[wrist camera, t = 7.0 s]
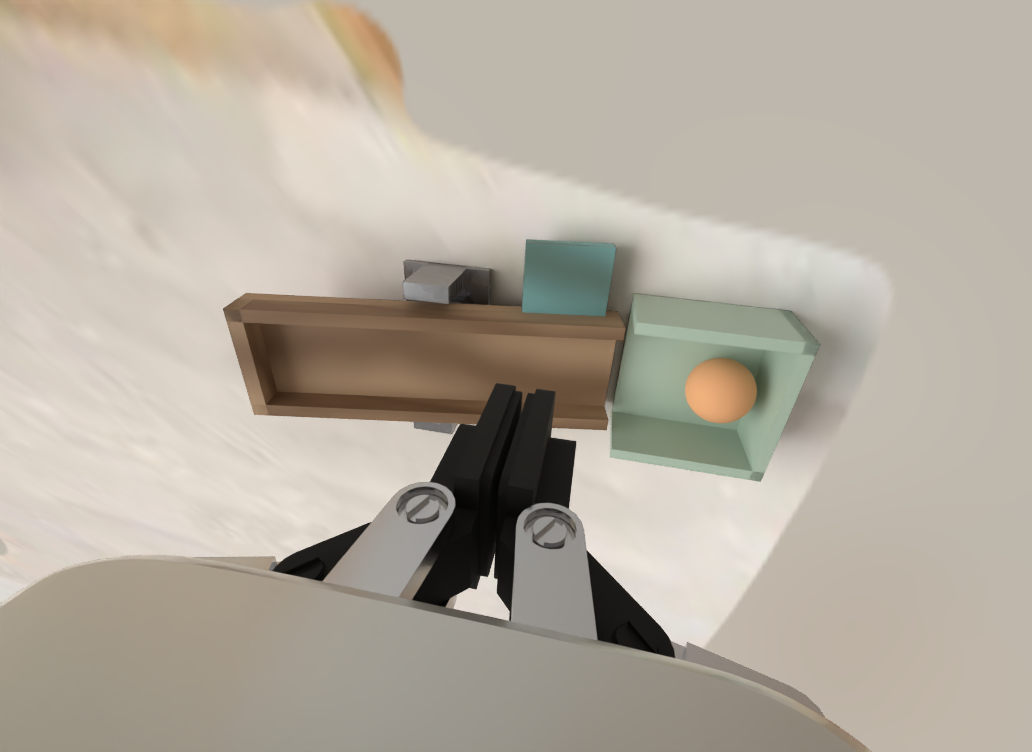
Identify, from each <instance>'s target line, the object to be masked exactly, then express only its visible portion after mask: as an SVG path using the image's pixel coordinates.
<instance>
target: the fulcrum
mask: <svg viewBox="0 0 1032 752" xmlns="http://www.w3.org/2000/svg"><path fill="white" fill-rule="evenodd" d="M404 274H405V280H404V281H403V293H404V299H406V300H407V301H417V302H435V303H443V304H449V303H458V304H478V305H490V278H491V269H487V268H477V267H468V266H459V265H450V264H440V263H431V262H422V261H413V260H405V261H404ZM456 426H457V424H455V423H432V422H414V428H417V429H423V430H429V431H435V432H441V433H448V434H453V432H454V430H455V428H456Z"/></svg>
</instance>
